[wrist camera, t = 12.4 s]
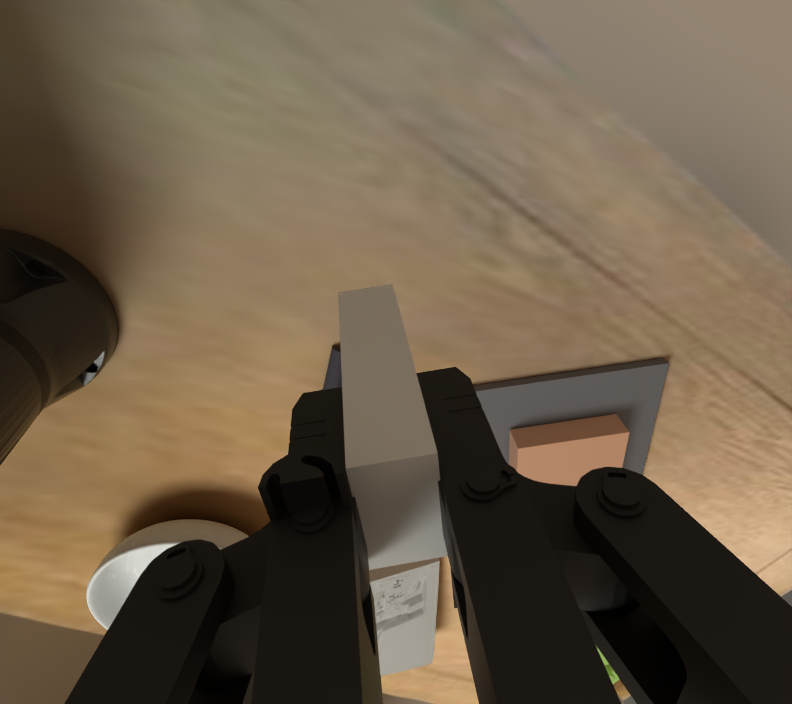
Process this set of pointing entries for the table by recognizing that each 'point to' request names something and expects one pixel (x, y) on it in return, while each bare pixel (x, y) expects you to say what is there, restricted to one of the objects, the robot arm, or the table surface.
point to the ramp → (405, 614)
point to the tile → (568, 449)
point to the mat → (580, 402)
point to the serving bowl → (146, 560)
